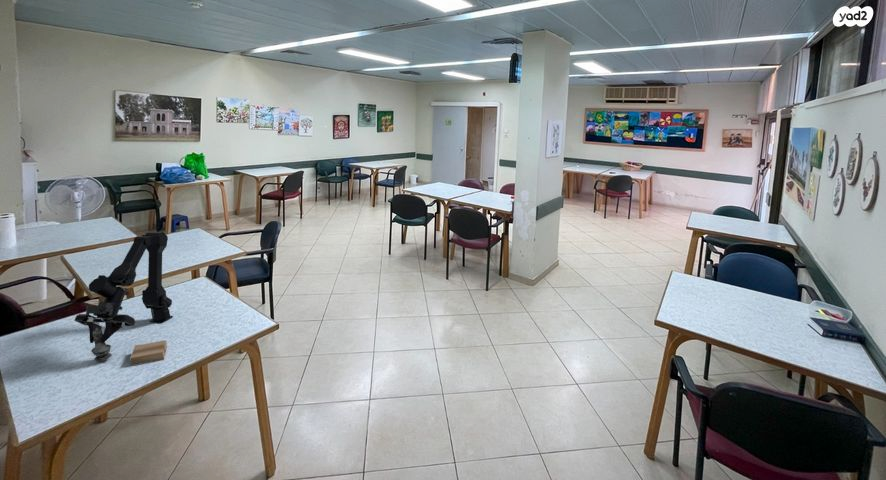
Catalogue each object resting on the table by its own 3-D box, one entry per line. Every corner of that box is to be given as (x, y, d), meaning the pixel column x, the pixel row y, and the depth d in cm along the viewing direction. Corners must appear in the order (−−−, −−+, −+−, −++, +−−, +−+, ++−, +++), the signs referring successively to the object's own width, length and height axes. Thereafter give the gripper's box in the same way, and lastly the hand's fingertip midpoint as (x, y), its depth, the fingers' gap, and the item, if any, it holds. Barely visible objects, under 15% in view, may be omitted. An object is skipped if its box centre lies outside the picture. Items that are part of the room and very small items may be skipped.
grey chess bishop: (91, 362, 159) (84, 332, 156) (94, 355, 164) (88, 325, 161) (111, 358, 162) (104, 329, 159) (114, 351, 167) (107, 322, 164)
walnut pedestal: (136, 352, 169) (135, 345, 168) (166, 347, 173) (165, 340, 172) (131, 365, 160) (130, 358, 159) (163, 359, 164) (162, 352, 163)
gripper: (72, 293, 160) (53, 336, 153) (123, 294, 160) (107, 336, 153) (93, 304, 170) (77, 344, 163) (141, 305, 170) (127, 345, 163)
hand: (96, 342), depth 160 cm, fingers closed on grey chess bishop, 4 cm apart
